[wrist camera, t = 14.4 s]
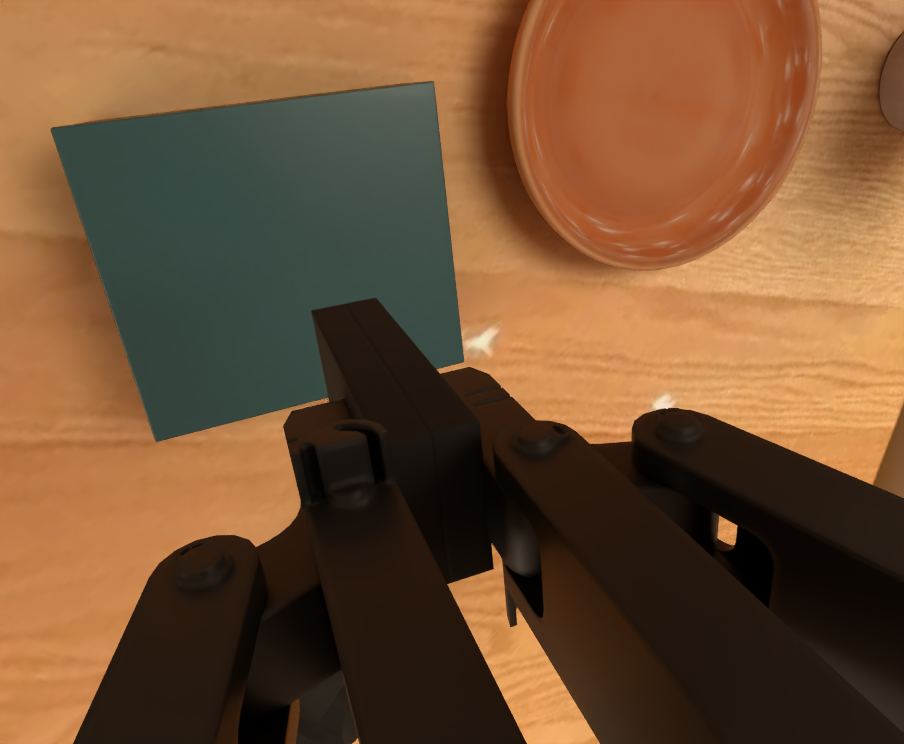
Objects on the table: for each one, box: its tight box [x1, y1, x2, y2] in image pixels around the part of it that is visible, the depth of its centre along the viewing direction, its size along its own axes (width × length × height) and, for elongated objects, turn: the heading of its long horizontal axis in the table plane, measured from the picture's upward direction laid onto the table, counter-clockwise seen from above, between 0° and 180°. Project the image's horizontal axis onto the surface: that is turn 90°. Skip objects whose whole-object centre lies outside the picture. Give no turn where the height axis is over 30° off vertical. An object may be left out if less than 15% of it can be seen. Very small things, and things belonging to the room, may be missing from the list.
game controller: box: [296, 542, 492, 744], centre depth 34 cm, size 16×7×10 cm, turn 145°
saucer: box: [507, 0, 822, 270], centre depth 31 cm, size 16×16×3 cm
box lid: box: [51, 81, 464, 442], centre depth 26 cm, size 13×12×1 cm
